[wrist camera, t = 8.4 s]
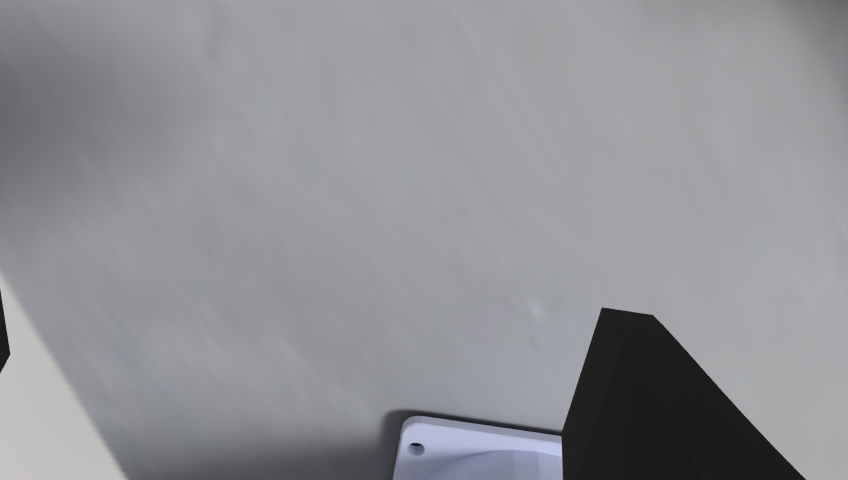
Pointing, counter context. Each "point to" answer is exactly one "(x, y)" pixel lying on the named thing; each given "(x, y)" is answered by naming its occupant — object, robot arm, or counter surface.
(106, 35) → the counter surface
